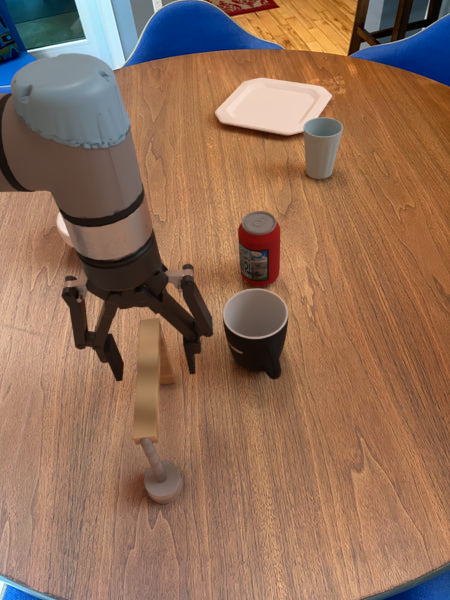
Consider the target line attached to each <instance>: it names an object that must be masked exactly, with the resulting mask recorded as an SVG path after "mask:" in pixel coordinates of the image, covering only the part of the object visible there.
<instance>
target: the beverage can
mask: <svg viewBox="0 0 450 600" xmlns="http://www.w3.org/2000/svg"><path fill="white" fill-rule="evenodd" d="M241 220H242V221H241V222H240V224H239V226H238V229H237V239H238V241H237V243H238V256H239V267H240V268H239V270H240V276H241V279H242V280H243V282H245V283H246V284H248V285H250V286H252V287H267V286H269V285H271V284H273V283H275V282H276V281H277V280H278V278H279V276H280V271H281V270H280V268H281V267H280V266H281V227H280V226H281V225H280V224H279V223H278V221H277V219H276V217H275V216H274V215H273V214H272V213H270V212H268V211H263V210H255V211H251V212H249V213H247V214H245V216H243V218H242V219H241Z"/></svg>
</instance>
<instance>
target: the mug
mask: <svg viewBox="0 0 450 600" xmlns="http://www.w3.org/2000/svg"><path fill="white" fill-rule="evenodd" d="M222 325H223V331H224V335H225V339H226V343H227V346H228V349H229V351H230V354H231V356H232V358H233V360H234V362H235V363H236V364H237V365H238V366H239V367H240V368H242V369H243V370H245V371H247V372H251V373H262V372H264V373H265V374H266V375H267V376H268V378H269V379H271V380H278V379H279V378H280V377H281V376H282V365H281V361H280V357H281V356H282V353H283V350H284V347H285V343H286V339H287V333H288V326H289V309H288V305H287V304H286V302H285V300H284V299H283V298H282V297H281V296H280V295H278V294H277V293H276V292H274V291H272V290H271V291H270V290H268V289H264V288H248V289H244V290H241V291H238V292H236V293H234V294H233V295H232V296H230V298H228V299H227V301H226V302H225V304H224V306H223V309H222Z"/></svg>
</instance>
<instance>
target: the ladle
mask: <svg viewBox="0 0 450 600" xmlns="http://www.w3.org/2000/svg"><path fill="white" fill-rule="evenodd" d="M139 322H140V324H139V335H138V351H137V366H136V383H135V394H134V395H135V397H134V410H133V411H134V412H133V413H134V414H133V427H132V428H133V429H132V440H133V442H134V444H135V446H137V445H140V446H141V448H142V451H143V452H144V454H145V457H146V459H147V461H148V463H149V465H150V466H149V467H148V468H147V470H146V472H145V474H144V478H143V485H144V487H145V489H146V492H147V494H148V495H149V497H150V498H151V500H152V501H154V502H155V503H158V504H163V505H164V504H170V503H172V502H174V501H175V500H177V498H179V496H180V495H181V493H182V490H183V487H184V486H183V485H184V484H183V478H182V475H181V472H180V470H179V468H178V466H176V464H175V463H174V462H172V461H169V460H161V459H160V457H159V454H158V452H157V448H156V447H155V445H154V444H159V422H160V391H161V390H160V389H161V388H160V386H161V385H172V384H176V375H175V371H174V367H173V364H172V360H171V357H170V353H169V349H168V345H167V342H166V338H165V335H164V331H163V327H162V323H161V320H160V317H154V318H143V319H140V320H139Z"/></svg>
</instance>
